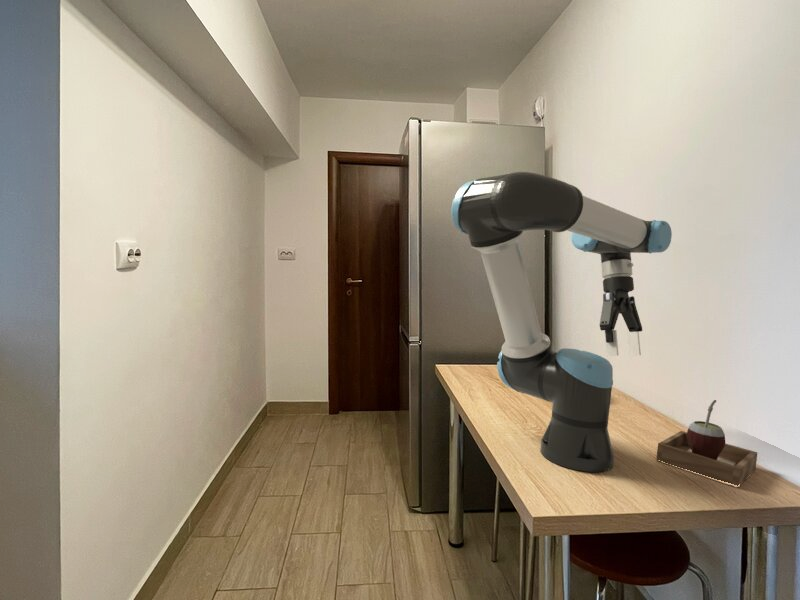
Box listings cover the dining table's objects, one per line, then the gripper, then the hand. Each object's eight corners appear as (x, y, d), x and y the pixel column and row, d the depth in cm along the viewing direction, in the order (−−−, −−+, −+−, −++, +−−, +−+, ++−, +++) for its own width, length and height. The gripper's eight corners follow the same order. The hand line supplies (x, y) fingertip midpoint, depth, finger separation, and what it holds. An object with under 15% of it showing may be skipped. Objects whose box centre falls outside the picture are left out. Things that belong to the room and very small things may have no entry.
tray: (737, 488, 89) (739, 469, 88) (656, 460, 100) (658, 443, 100) (755, 469, 98) (757, 452, 98) (679, 446, 110) (681, 430, 109)
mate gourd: (701, 452, 103) (708, 389, 102) (734, 467, 96) (742, 399, 95) (675, 454, 102) (682, 389, 100) (707, 469, 94) (715, 400, 93)
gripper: (610, 269, 111) (617, 355, 108) (650, 280, 127) (657, 355, 124) (581, 274, 117) (587, 355, 114) (623, 284, 133) (630, 355, 130)
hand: (624, 355), depth 119 cm, fingers open, 13 cm apart
